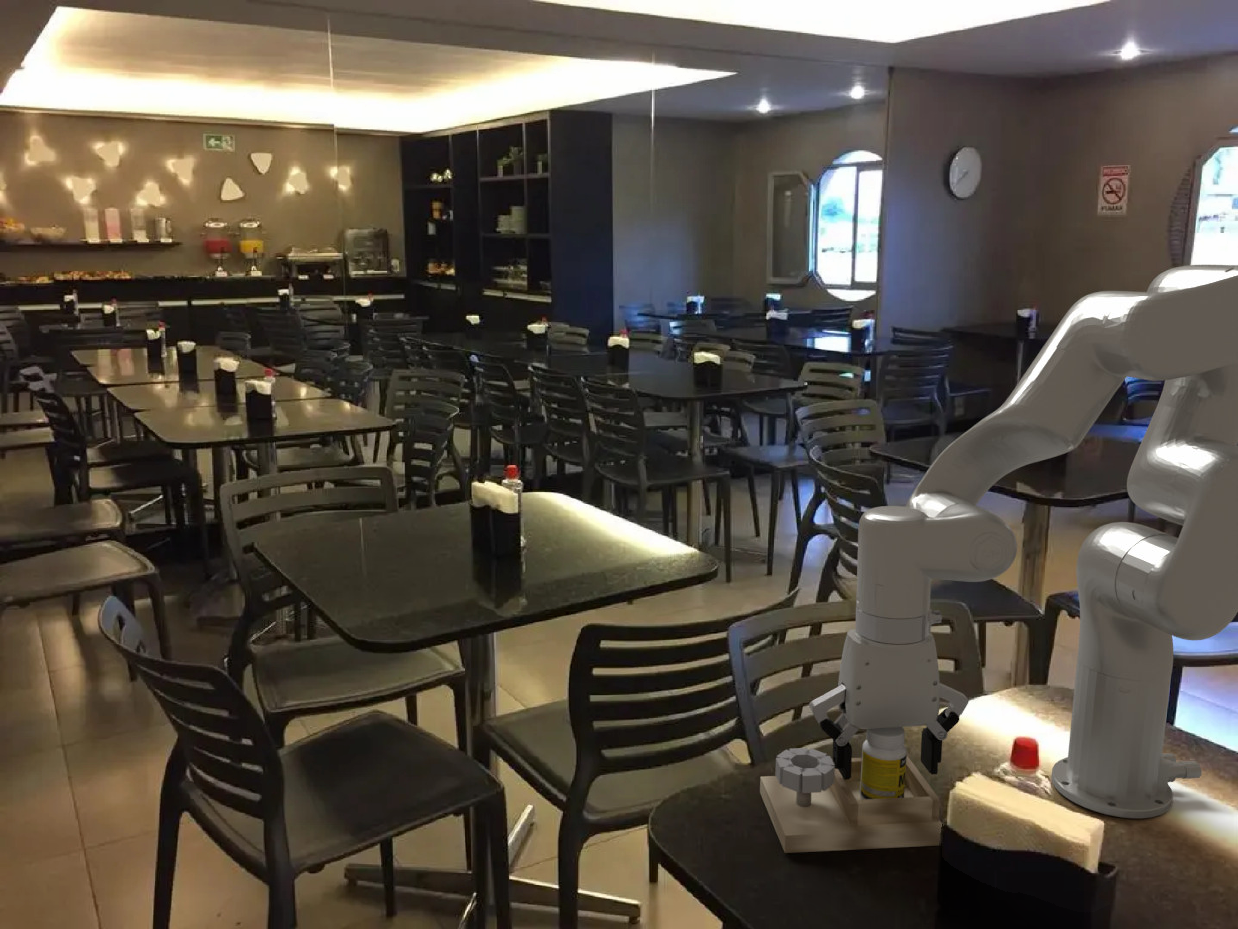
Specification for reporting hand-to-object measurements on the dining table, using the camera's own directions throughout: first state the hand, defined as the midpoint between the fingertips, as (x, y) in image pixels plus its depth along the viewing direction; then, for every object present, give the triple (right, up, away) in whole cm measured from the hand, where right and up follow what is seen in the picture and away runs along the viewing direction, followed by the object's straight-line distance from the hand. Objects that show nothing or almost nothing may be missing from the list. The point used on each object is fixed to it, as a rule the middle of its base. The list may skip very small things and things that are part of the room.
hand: (886, 771), depth 109 cm
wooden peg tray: (-4, -5, +1) cm, 7 cm away
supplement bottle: (0, -4, +1) cm, 4 cm away
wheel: (-9, -1, -1) cm, 9 cm away
